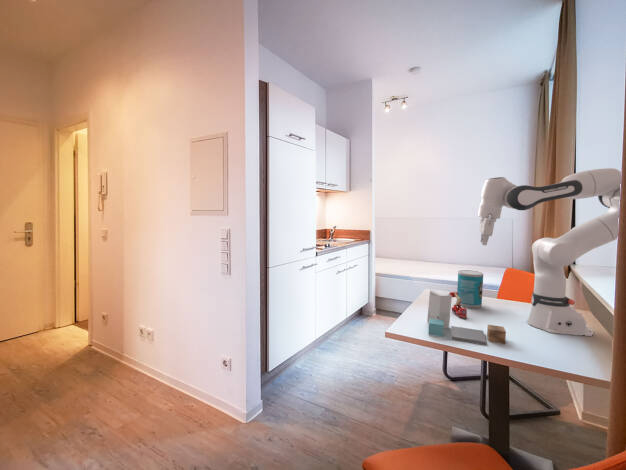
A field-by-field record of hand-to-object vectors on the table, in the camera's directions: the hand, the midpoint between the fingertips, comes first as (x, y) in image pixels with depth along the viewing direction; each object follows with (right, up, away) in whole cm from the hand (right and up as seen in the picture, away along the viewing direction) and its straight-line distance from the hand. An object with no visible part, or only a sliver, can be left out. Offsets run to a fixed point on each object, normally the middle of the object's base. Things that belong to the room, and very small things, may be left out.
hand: (483, 243), depth 139 cm
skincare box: (-22, -36, -3) cm, 42 cm away
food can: (+6, -34, +26) cm, 43 cm away
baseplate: (-15, -37, -15) cm, 43 cm away
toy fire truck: (-6, -35, +12) cm, 38 cm away
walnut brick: (-5, -38, -18) cm, 42 cm away
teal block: (-27, -37, -12) cm, 47 cm away
